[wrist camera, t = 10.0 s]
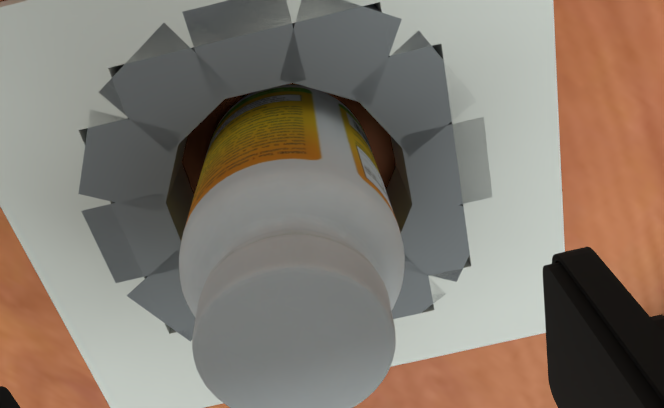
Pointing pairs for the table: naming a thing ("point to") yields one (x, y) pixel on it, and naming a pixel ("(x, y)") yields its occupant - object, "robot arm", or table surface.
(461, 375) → the table surface
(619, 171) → the table surface
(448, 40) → the holder
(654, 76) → the table surface
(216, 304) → the supplement bottle
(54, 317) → the table surface
